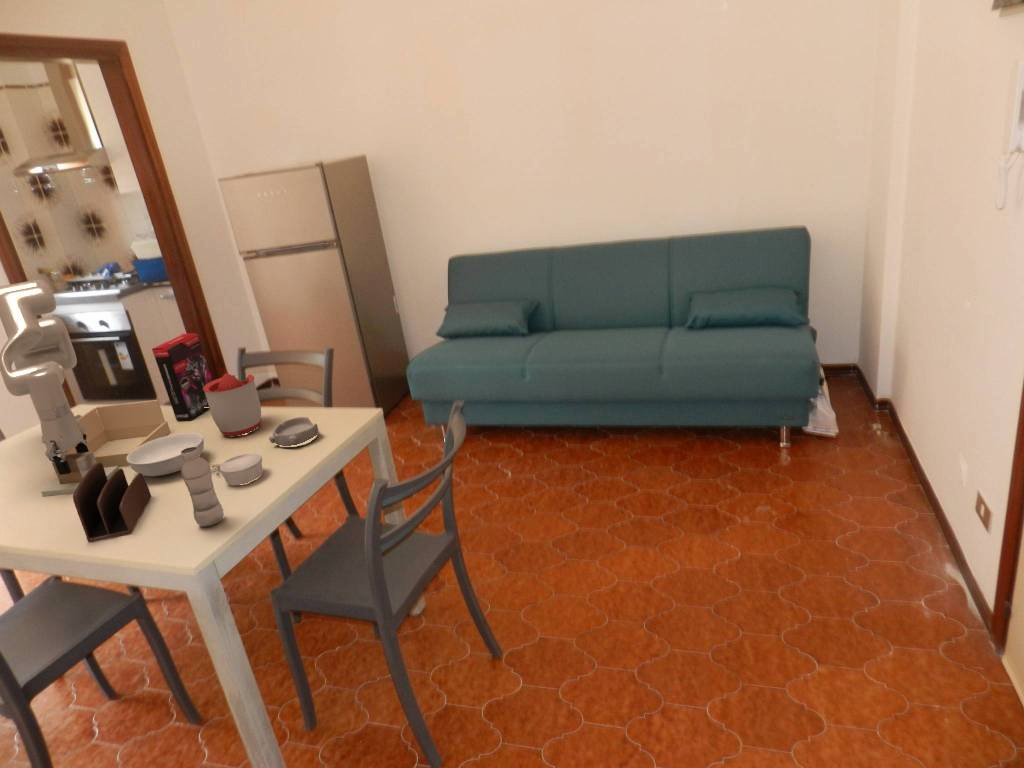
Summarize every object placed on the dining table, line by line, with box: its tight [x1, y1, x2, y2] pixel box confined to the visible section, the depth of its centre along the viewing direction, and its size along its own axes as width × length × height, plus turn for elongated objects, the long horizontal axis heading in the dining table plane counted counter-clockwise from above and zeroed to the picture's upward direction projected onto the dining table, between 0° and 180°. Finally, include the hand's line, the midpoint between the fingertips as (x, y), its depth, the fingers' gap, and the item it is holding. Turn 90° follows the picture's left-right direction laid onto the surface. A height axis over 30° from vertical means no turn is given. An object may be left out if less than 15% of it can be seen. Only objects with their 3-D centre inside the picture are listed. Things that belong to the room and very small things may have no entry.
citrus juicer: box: [203, 372, 262, 438], centre depth 223 cm, size 16×17×20 cm
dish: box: [268, 416, 319, 446], centre depth 212 cm, size 14×14×5 cm
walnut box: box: [51, 452, 97, 484], centre depth 200 cm, size 5×9×7 cm, turn 90°
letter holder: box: [72, 462, 152, 543], centre depth 175 cm, size 10×20×14 cm, turn 13°
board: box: [40, 466, 120, 497], centre depth 201 cm, size 12×16×2 cm
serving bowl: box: [126, 432, 205, 477], centre depth 203 cm, size 21×21×7 cm
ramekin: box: [219, 452, 264, 486], centre depth 190 cm, size 11×11×5 cm
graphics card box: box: [151, 332, 213, 422], centre depth 243 cm, size 17×7×27 cm, turn 168°
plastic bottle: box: [180, 447, 225, 528], centre depth 166 cm, size 6×7×20 cm
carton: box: [59, 399, 171, 468], centre depth 219 cm, size 24×22×12 cm
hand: (75, 465), depth 200 cm, fingers open, 9 cm apart
